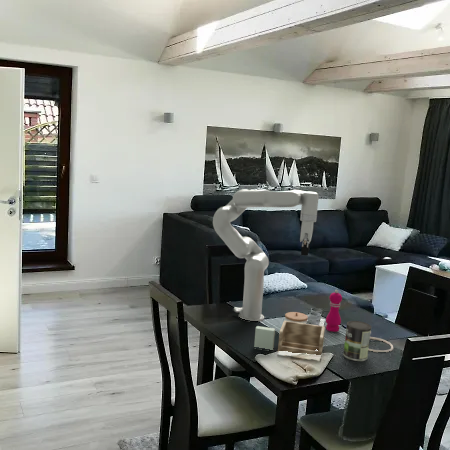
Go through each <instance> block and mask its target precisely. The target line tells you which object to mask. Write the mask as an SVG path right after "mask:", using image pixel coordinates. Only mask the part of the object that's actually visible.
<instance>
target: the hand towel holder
mask: <svg viewBox="0 0 450 450" xmlns="http://www.w3.org/2000/svg"><path fill="white" fill-rule="evenodd" d="M370 334H372V331H371V332H370ZM370 340H373V341H378V342H382V341H383V343H384V344H387V345H388V346H390V349H386V350H379V349H372V348H368V352H371V351H373V353H378V352H386V353H390V352H392V351H394V345H393V344H392V343H391V342H390V341H387V340H385V339H383V338H380V337H373V336H370ZM389 351H390V352H389Z"/></svg>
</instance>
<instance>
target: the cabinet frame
mask: <svg viewBox="0 0 450 450" xmlns="http://www.w3.org/2000/svg"><path fill="white" fill-rule="evenodd" d="M325 330H326V325H325V326H323V325H317V324H309V323H307V324H304V323H297V322H290V321H285V320H283V322H282V325H281V327H280V330H279V334H278V344H277V345H278V346H277V352H278V351H288V352H292V353H307V354H316V355H321V354H322V355H323V349H324V339H325V333H326V332H325ZM316 349H317V350H318V351H315V350H316Z"/></svg>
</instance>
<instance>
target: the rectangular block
mask: <svg viewBox="0 0 450 450" xmlns="http://www.w3.org/2000/svg"><path fill="white" fill-rule="evenodd" d="M254 331H255V333H254V346H253V348H254V347H259V348H265V349H270V350H273V351H274V349H275V348H274V346H275V336H276V334H275V333H276V328H273V327H266V326H259V325H257V326H256V327H255V330H254ZM273 348H274V349H273Z"/></svg>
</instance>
